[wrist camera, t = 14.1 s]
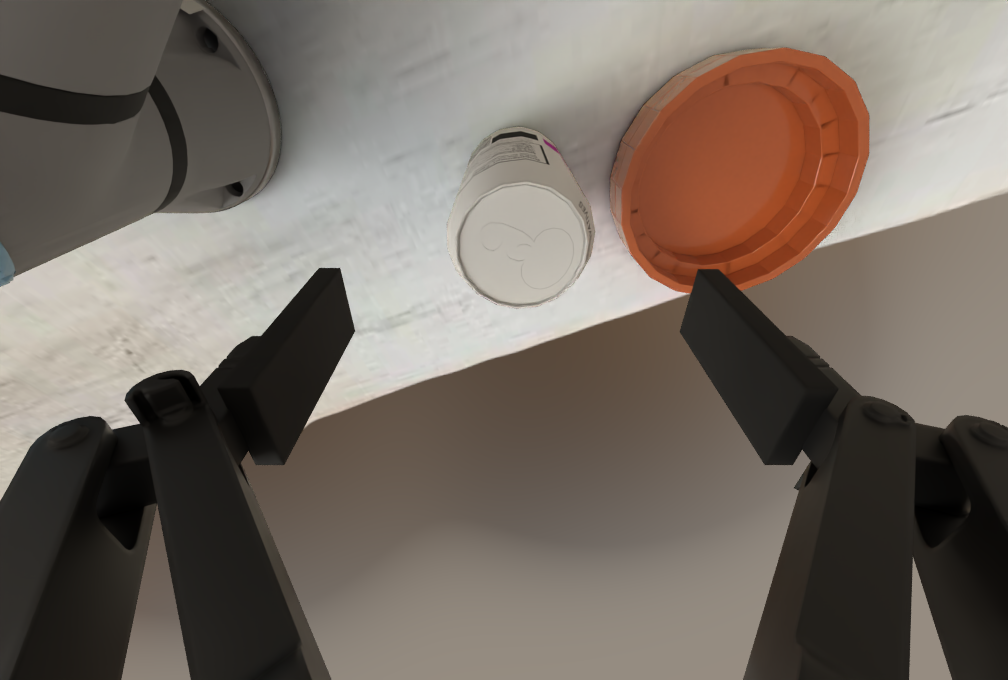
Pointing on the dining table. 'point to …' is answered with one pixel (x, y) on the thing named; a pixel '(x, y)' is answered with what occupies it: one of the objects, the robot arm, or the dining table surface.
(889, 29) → the dining table surface
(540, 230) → the supplement can
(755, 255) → the bowl
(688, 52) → the dining table surface
